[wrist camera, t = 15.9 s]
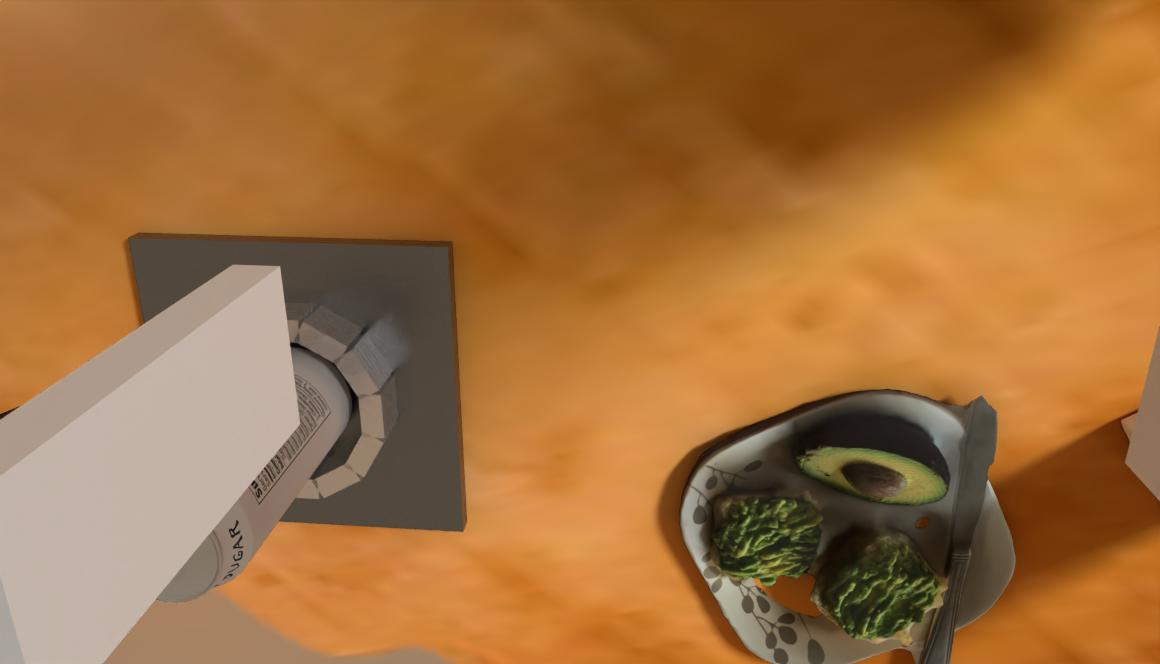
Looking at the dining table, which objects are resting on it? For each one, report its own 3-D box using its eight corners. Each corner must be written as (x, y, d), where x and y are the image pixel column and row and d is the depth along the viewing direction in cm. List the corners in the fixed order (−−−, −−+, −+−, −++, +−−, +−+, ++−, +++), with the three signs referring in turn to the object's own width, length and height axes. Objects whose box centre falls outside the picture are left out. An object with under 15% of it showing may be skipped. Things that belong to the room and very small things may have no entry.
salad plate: (1067, 623, 52) (1102, 682, 48) (773, 708, 57) (781, 768, 52) (964, 338, 47) (994, 376, 42) (646, 456, 51) (644, 501, 47)
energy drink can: (234, 405, 51) (68, 569, 37) (275, 320, 48) (115, 460, 34) (330, 457, 51) (203, 638, 37) (375, 375, 49) (258, 535, 35)
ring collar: (138, 232, 48) (100, 251, 45) (452, 241, 47) (435, 261, 44) (189, 506, 55) (158, 540, 51) (466, 521, 53) (453, 557, 50)
